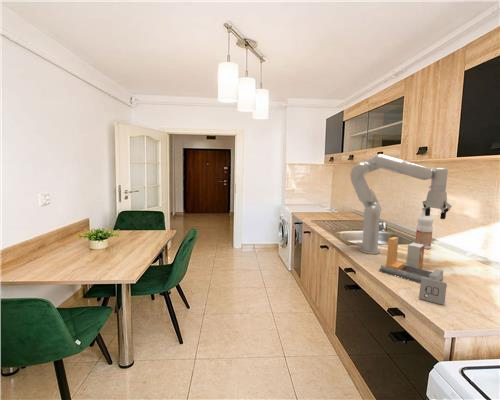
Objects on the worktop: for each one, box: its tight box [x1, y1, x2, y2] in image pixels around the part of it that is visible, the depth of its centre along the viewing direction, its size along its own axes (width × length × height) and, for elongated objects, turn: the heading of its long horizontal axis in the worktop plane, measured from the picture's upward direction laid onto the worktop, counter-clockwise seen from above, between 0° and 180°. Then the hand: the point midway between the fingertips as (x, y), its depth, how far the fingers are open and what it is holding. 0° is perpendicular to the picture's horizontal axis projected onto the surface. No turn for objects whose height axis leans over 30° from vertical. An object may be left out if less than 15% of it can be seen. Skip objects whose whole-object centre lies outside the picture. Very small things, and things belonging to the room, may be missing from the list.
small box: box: [405, 242, 425, 269], centre depth 160 cm, size 8×6×13 cm
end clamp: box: [385, 236, 405, 270], centre depth 153 cm, size 6×9×17 cm, turn 132°
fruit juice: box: [414, 206, 434, 250], centre depth 197 cm, size 9×9×28 cm
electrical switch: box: [418, 278, 448, 306], centre depth 122 cm, size 9×5×9 cm, turn 52°
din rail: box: [379, 264, 444, 284], centre depth 148 cm, size 26×14×5 cm, turn 42°
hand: (434, 217), depth 168 cm, fingers open, 9 cm apart
